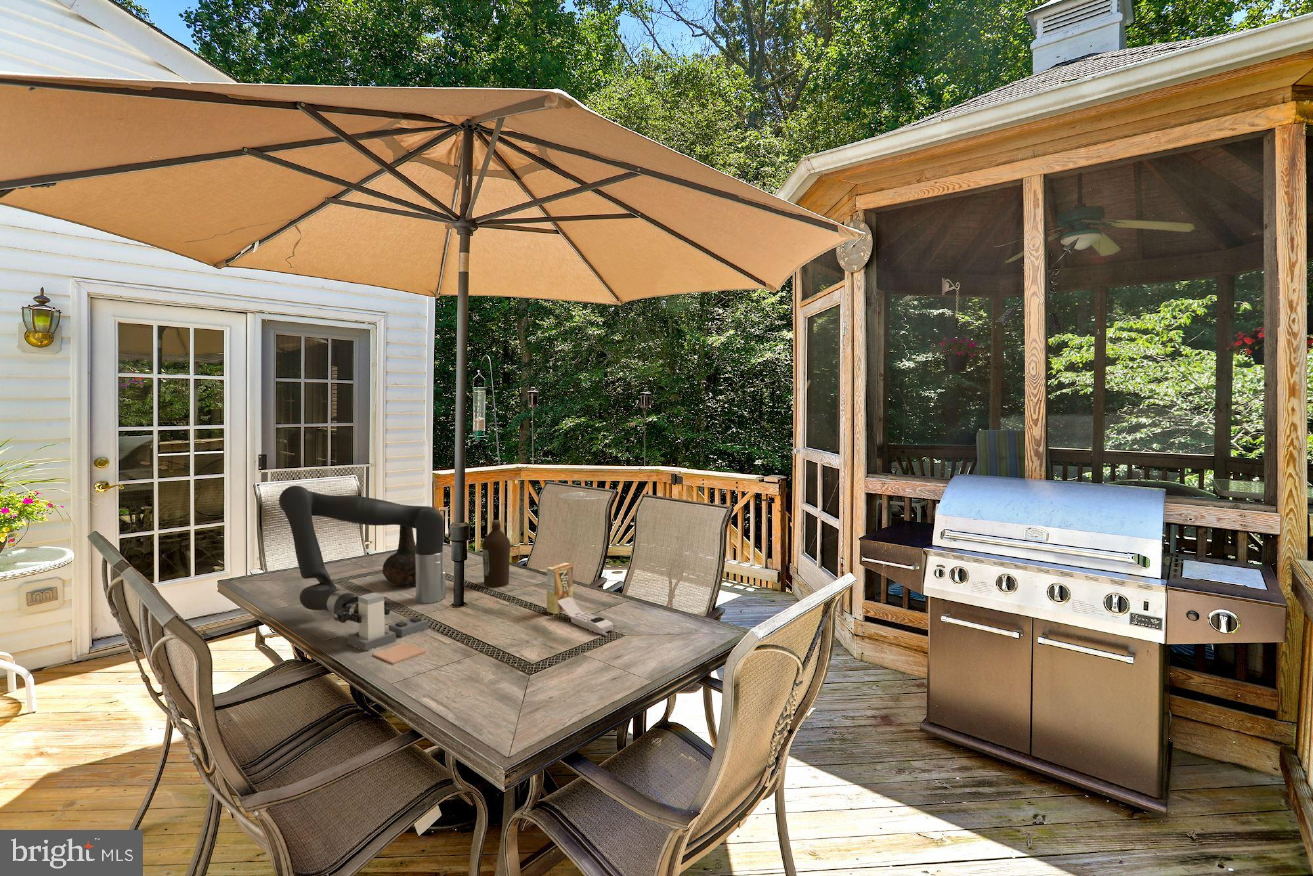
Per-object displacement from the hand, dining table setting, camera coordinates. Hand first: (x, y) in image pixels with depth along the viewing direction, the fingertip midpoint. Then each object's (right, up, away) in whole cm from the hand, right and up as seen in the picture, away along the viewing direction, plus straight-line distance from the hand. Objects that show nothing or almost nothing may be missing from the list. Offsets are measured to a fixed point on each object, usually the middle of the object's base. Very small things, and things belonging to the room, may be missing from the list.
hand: (374, 615), depth 181 cm
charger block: (-2, -8, +2) cm, 9 cm away
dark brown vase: (-15, -5, +61) cm, 63 cm away
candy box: (+49, -7, +32) cm, 59 cm away
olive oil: (+20, -5, +61) cm, 64 cm away
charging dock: (+2, -8, +6) cm, 10 cm away
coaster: (+10, -9, -7) cm, 15 cm away
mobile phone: (+60, -8, +18) cm, 63 cm away
